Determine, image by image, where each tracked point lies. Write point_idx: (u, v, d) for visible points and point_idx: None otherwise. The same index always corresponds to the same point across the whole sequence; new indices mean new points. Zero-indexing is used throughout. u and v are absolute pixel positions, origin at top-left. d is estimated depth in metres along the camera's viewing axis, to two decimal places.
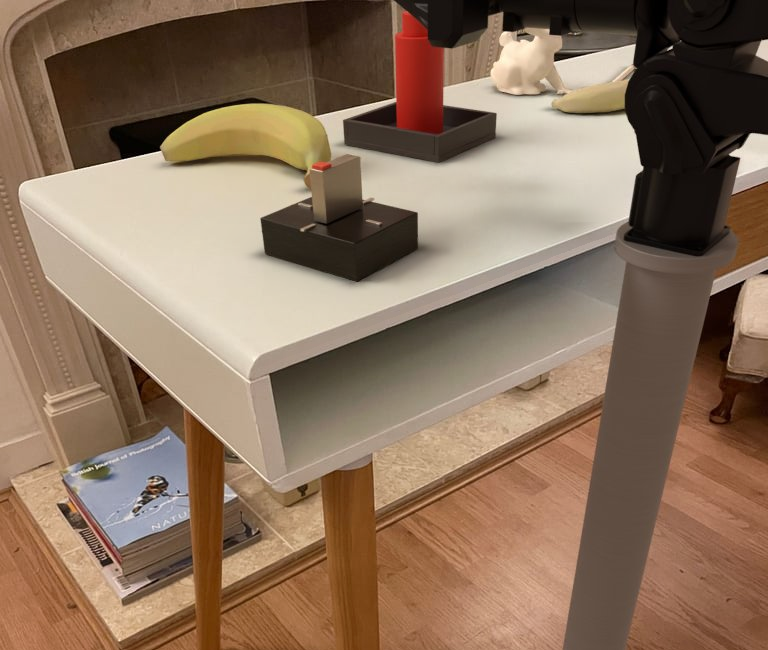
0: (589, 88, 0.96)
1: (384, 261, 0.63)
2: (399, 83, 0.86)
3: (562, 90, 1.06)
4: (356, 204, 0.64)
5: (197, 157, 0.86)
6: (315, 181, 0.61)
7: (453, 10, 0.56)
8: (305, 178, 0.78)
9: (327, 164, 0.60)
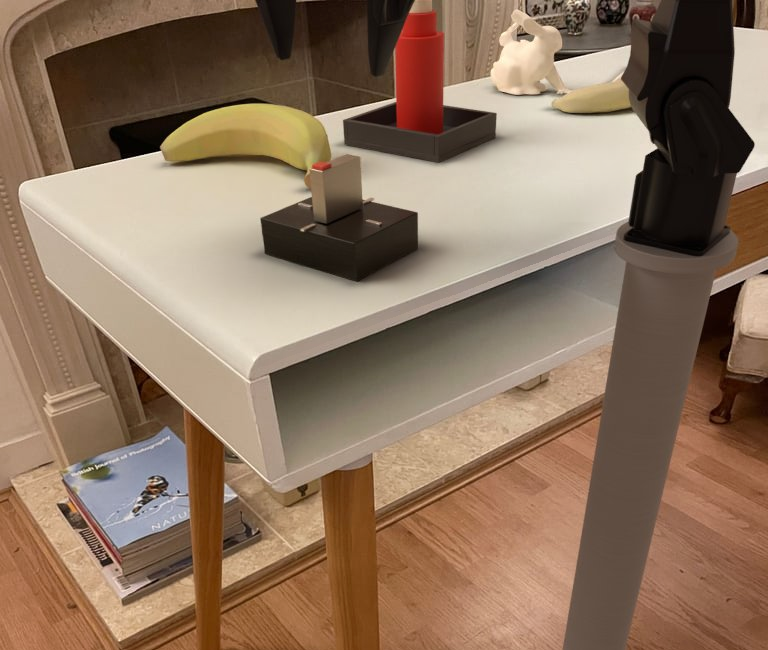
0: (589, 88, 0.96)
1: (384, 261, 0.63)
2: (399, 83, 0.86)
3: (562, 90, 1.06)
4: (356, 204, 0.64)
5: (197, 157, 0.86)
6: (315, 181, 0.61)
7: None
8: (305, 178, 0.78)
9: (327, 164, 0.60)
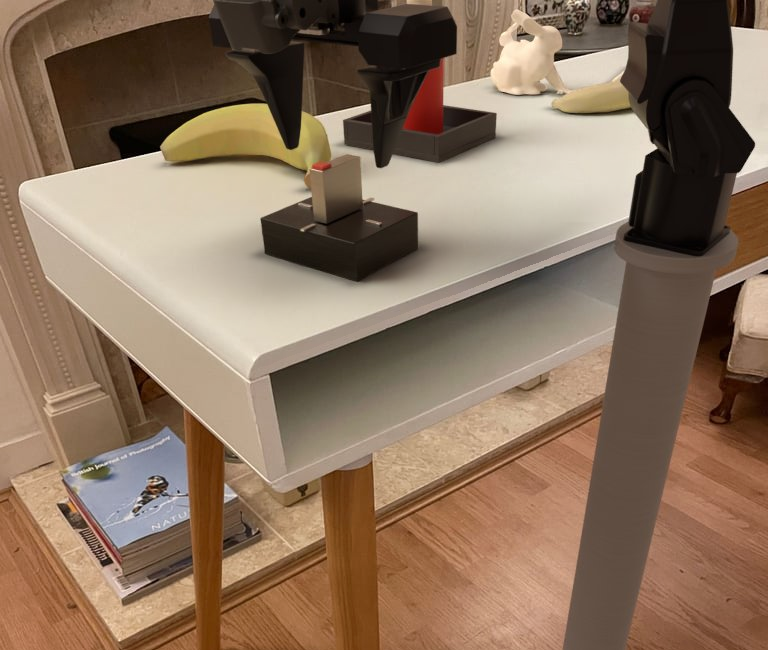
0: (589, 88, 0.96)
1: (384, 261, 0.63)
2: None
3: (562, 90, 1.06)
4: (356, 204, 0.64)
5: (197, 157, 0.86)
6: (315, 181, 0.61)
7: (438, 20, 0.51)
8: (305, 178, 0.78)
9: (327, 164, 0.60)
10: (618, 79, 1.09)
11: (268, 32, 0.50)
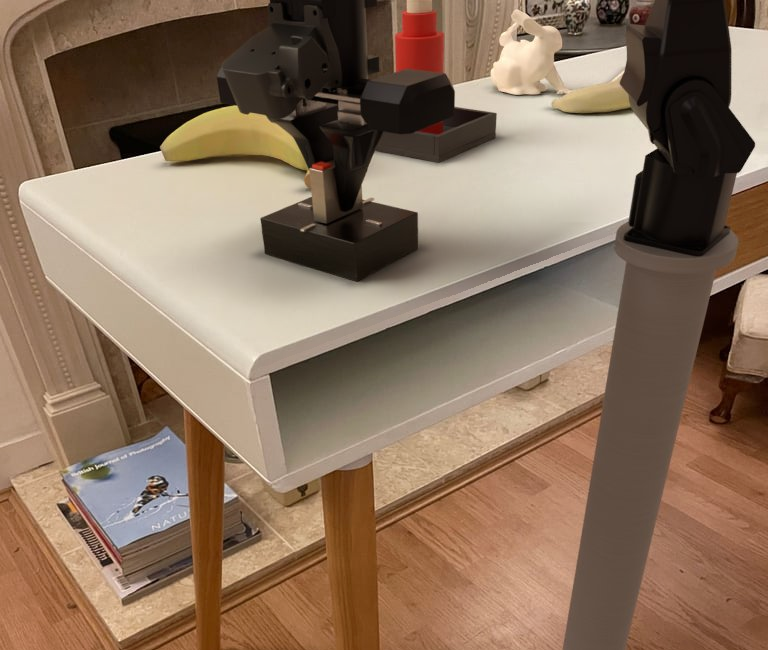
0: (589, 88, 0.96)
1: (384, 261, 0.63)
2: None
3: (562, 90, 1.06)
4: (356, 204, 0.64)
5: (197, 157, 0.86)
6: (315, 181, 0.61)
7: (437, 87, 0.54)
8: (305, 178, 0.78)
9: (327, 164, 0.60)
10: (618, 79, 1.09)
11: (275, 100, 0.52)
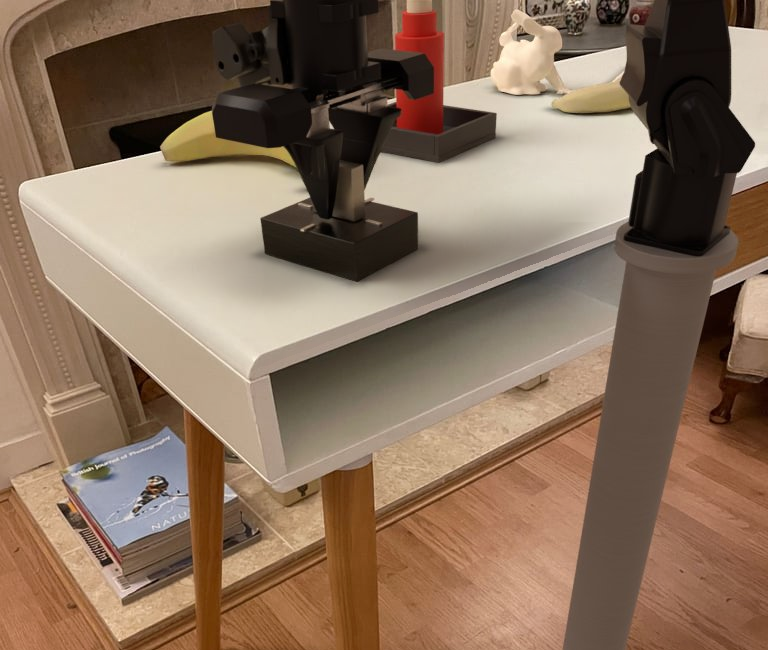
0: (589, 88, 0.96)
1: (384, 261, 0.63)
2: None
3: (562, 90, 1.06)
4: (346, 213, 0.63)
5: (197, 157, 0.86)
6: None
7: (244, 108, 0.52)
8: None
9: None
10: (618, 80, 1.09)
11: None
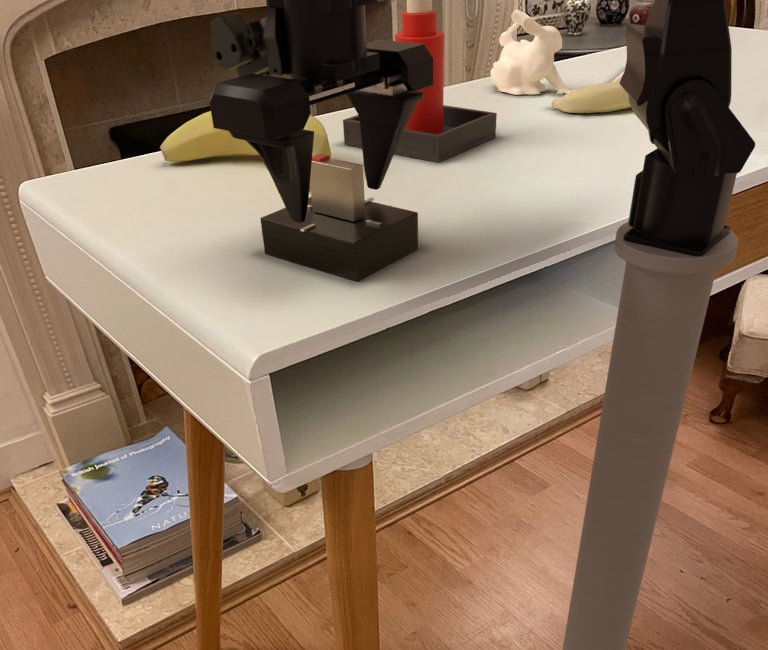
0: (589, 88, 0.96)
1: (384, 261, 0.63)
2: None
3: (562, 90, 1.06)
4: (346, 213, 0.63)
5: (197, 157, 0.86)
6: None
7: (241, 98, 0.52)
8: None
9: (318, 157, 0.62)
10: (618, 80, 1.09)
11: None
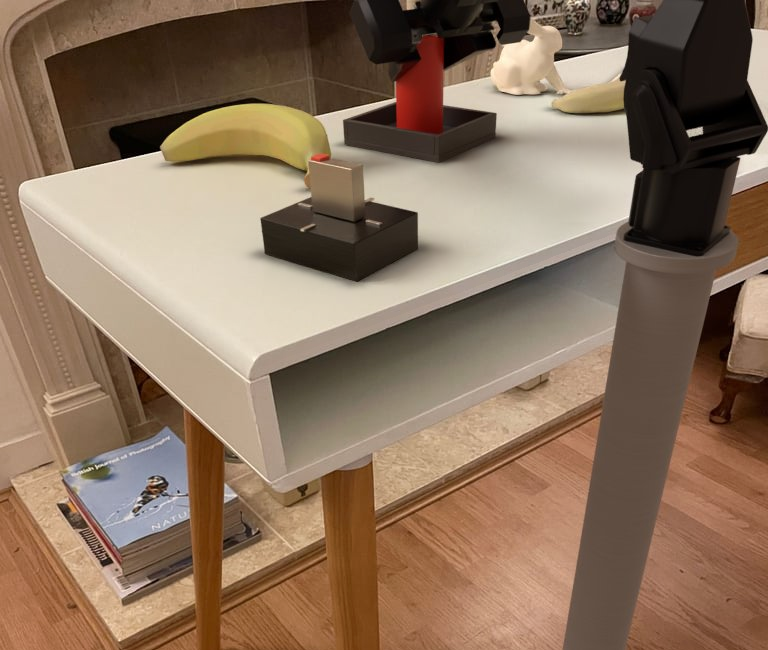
0: (589, 88, 0.96)
1: (384, 261, 0.63)
2: (399, 83, 0.86)
3: (562, 90, 1.06)
4: (346, 213, 0.63)
5: (197, 157, 0.86)
6: None
7: (369, 25, 0.75)
8: (305, 178, 0.78)
9: (318, 157, 0.62)
10: (618, 79, 1.09)
11: None
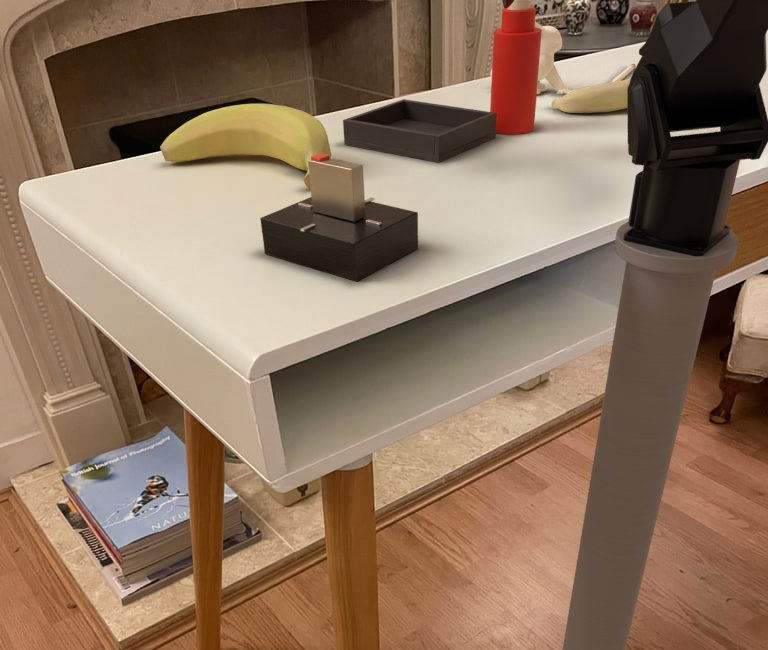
0: (589, 88, 0.96)
1: (384, 261, 0.63)
2: (493, 76, 0.90)
3: (562, 90, 1.06)
4: (346, 213, 0.63)
5: (197, 157, 0.86)
6: None
7: None
8: (305, 178, 0.78)
9: (318, 157, 0.62)
10: (618, 79, 1.09)
11: None
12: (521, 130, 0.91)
